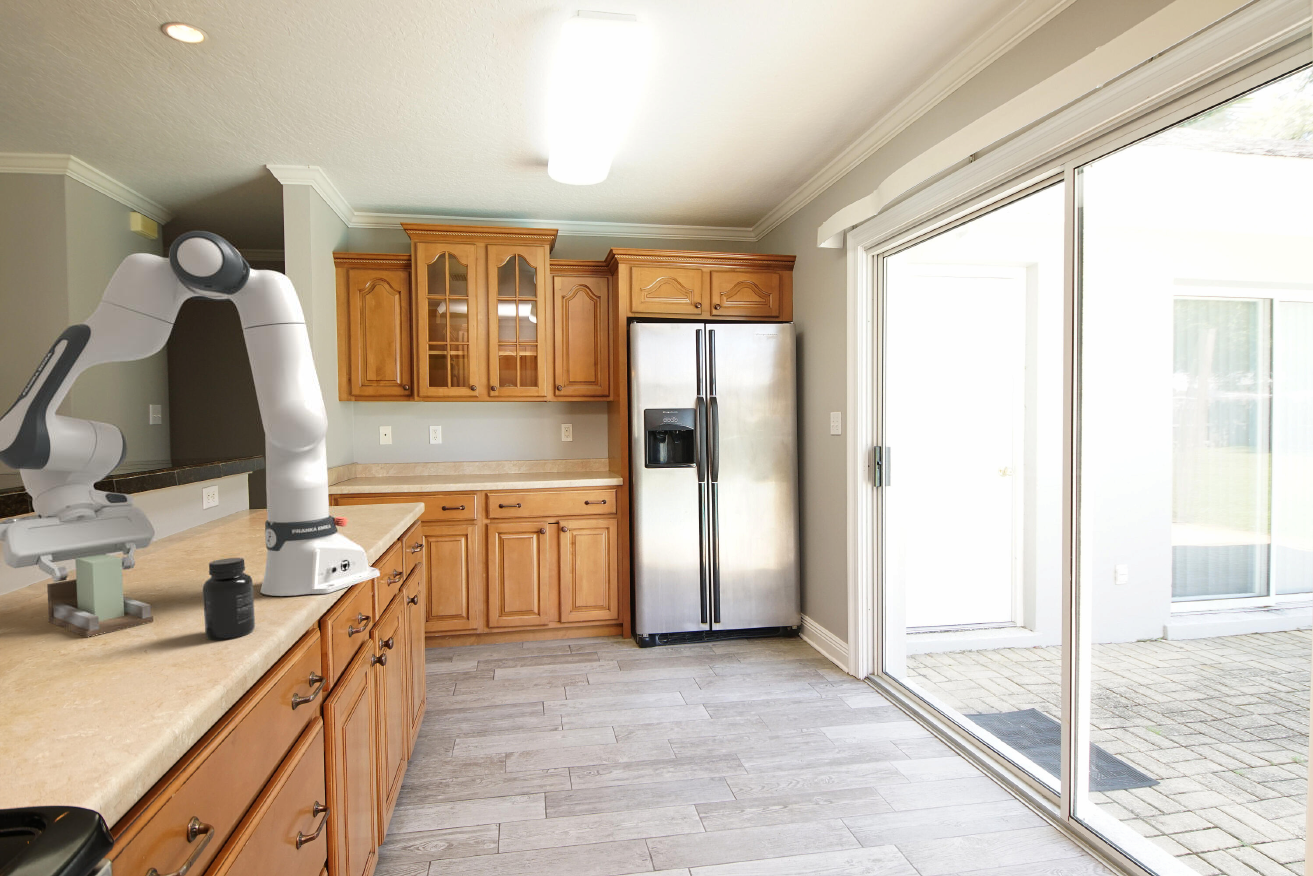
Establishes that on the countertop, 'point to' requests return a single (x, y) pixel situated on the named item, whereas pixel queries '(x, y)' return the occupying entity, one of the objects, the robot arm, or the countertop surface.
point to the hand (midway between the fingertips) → (96, 572)
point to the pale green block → (100, 586)
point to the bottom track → (84, 623)
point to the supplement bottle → (228, 600)
